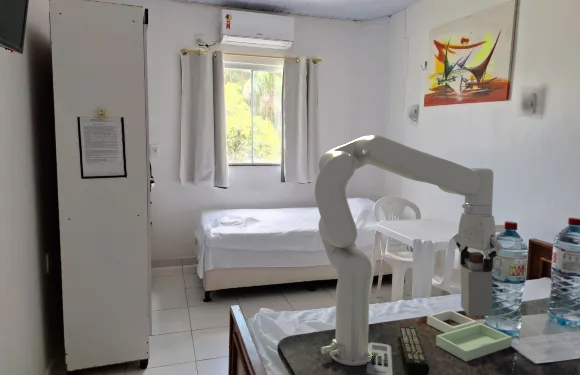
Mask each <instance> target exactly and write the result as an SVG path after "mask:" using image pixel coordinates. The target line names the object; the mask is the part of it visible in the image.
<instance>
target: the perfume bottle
mask: <svg viewBox="0 0 580 375" xmlns="http://www.w3.org/2000/svg"><path fill="white" fill-rule="evenodd" d="M484 257H485V255H484V253H482V252H481V251H469V258H465V259H464V261H465V264H466V265H461V264H460V307H461V308H462V310H464V312H465V313H466V314H467V316H469V317H474V316H475V317H477V316H478V317H479V316H481V317H482V316H485V317H486V316H493V270H492V271H490V272H484V271H483V265H484V259H485V258H484Z"/></svg>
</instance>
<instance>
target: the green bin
mask: <svg viewBox="0 0 580 375" xmlns="http://www.w3.org/2000/svg"><path fill="white" fill-rule="evenodd" d="M512 337H513V336H510V335H508V334H506V333H504V332H502V331H500V330H497V329H495V328H494V327H490V326H488V325H486V324H484V323H477V324H475V325H472V326H468V327H465V328H461V329H458V330H454V331H451V332H447V333H444V332H443V333H441V334H438V335H436V336H435V346H437V347H439V348H441V349H443V350H445V351H446V352H447V353H450V354H452V355H453V356H455V357H457V358H459V359H460V360H462V361H464V362H468V361H469V362H470V361H472V360H474V359H478V358H480V357H481V358H482V357H485V356H487V355H489V354H492V353H496V352H498V351H502V350H505V349H508V348H511V347H512V340H513V338H512ZM510 346H511V347H510Z"/></svg>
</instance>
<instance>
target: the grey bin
mask: <svg viewBox="0 0 580 375" xmlns="http://www.w3.org/2000/svg"><path fill="white" fill-rule="evenodd" d="M426 320H427V321H426V324H427V325H429V326H431V327H433V328H434V329H436V330H439V331H440V332H443V334H444V333H447V332H451V331H454V330H458V329H461V328H465V327H468V326H472V325H475V324H478V321H476V320H475V319H472V318H470V317H467V316H465V315H463V314H461V313H458V312H457V311H454V310H451V309H448V310H444V311H439V312H436V313H435V312H434V313H433V314H428V315H427V316H426ZM447 320H451V321H453V322H456V323H457V324H458V325H454V326H453V325H451V324H449V323H446V322H445V321H447Z"/></svg>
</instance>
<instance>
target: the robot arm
mask: <svg viewBox="0 0 580 375" xmlns="http://www.w3.org/2000/svg"><path fill="white" fill-rule="evenodd" d="M367 165H370V166H374V167H375V168H376V167H377V168H380V169H381V170H385V171H387V172H389V173H392V174H395V175H397V176H400V177H403V178H405V179H408V180H411V181H415V182H421V183H427V184H430V185H434V186H437V187H438V188H439V189H440V190H441V191H443V192H445V193H448V194H449V193H450V194H454V195H459V196H463V197H464V203H463V204H462V206H461V207H462V209H463V212H461V216H460V219H459V224H458V233H457V234H455V235H453V240H454V241H455V244H456V246H457V248H458V251H459V253H460V255H459V256H460V263H459V265H460V266H461V265H466V264H465V261H464V259H465V258H469V252H470V251H469V249H474V250H477V251H482V252H483V255H484V257H485V258H484V265H483V271H484V272H490V271H492V272H493V269H494V259H496V257H497V256H498V255H500V252H502V251H503V249H504V246H503V245H502V244H501V243H500V242H499V241H498V240H497V238H496V237H497V234H496V231H497V230H496V222H495V216H494V215H493V197H494V196H493V194H494V171H493V170H492V169H491V168H487V167H486V168H485V167H484V168H483V167H481V168H480V167H475V168H474V167H472V168H469V167H466V166H464V165H461V164H459V163H457V162H453V161H451V160H447V159H445V158H441V157H439V156H435V155H432V154H430V153H427V152H424V151H422V150H418V149H416V148H413V147H410V146H407V145H404V144H403V143H400V142H397V141H395V140H393V139H390V138H388V137H385V136H381V135H377V134H376V135H375V134H371V135H364V136H361V137H359V138H357V139H354V140H352V141H350V142H348V143H346V144H343V145H340V146H337V147H335V148H333V149H331V150H328V151H325V153H323V154H322V156H321V157H320V159H319V162H318V169H319V173H318V176H317V178H316V181H315V185H314V198H315V202H316V206H317V209H318V213H319V215H320V218H319V221H318V232H319V235H320V238H321V242H322V244H323V247H324V250H325V252H326V255H327V258H328V261H329V263H330V266H331V267H332V269H334V271H336V273H337V283H336V287H335V288H336V289H335V338H333V339H332V340H331V341H332V342H331V343H330V344H329V345H326V346H321V347H320V352H321V354H322V355H325V354H329V356H330V357H331V358H332V359H333V360H334V361H335V362H337V363H339V364H342V365H345V366H355V367H356V366H363V365H366V364H368V363H367V362H368V361H369V360H370V359H371V358H372V356H373V357H374V354H373V355H372V354H371V352H370V351H369V347H370V346H369V325H370V323H369V318H370V289H371V281H372V276H373V266H372V263H371V260H370V258H369V257H368V255H366V254H365V253H364V252H363V251H362V250H361V249H359V248H358V247H357V244H356V240H357V237H358V228H357V225H356V222H355V220H354V217H353V214H352V212H351V208H350V205H349V202H348V197H347V193H346V189H347V186H348V183H349V181H350V180H351V179H352V177H353V175H354V174H355V171H356V170H358V169H360V168H362V167H364V166H367ZM368 356H371V357H368Z"/></svg>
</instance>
